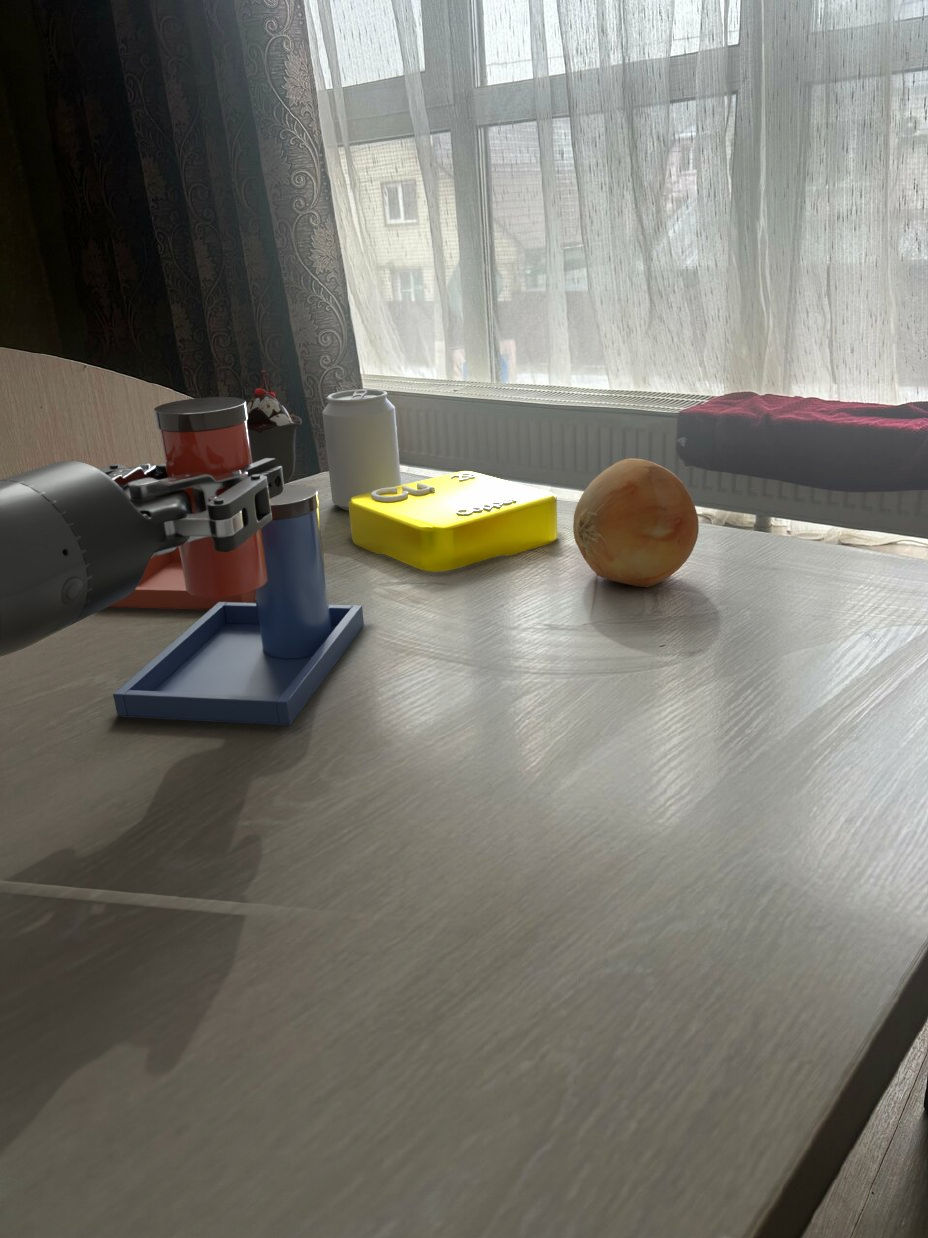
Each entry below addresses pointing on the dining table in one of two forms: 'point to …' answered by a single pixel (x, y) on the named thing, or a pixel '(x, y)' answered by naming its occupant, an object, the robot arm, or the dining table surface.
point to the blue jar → (294, 577)
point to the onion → (636, 523)
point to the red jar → (216, 445)
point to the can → (360, 444)
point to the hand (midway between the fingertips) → (238, 471)
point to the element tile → (453, 520)
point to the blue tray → (233, 671)
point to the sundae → (272, 430)
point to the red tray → (171, 588)
